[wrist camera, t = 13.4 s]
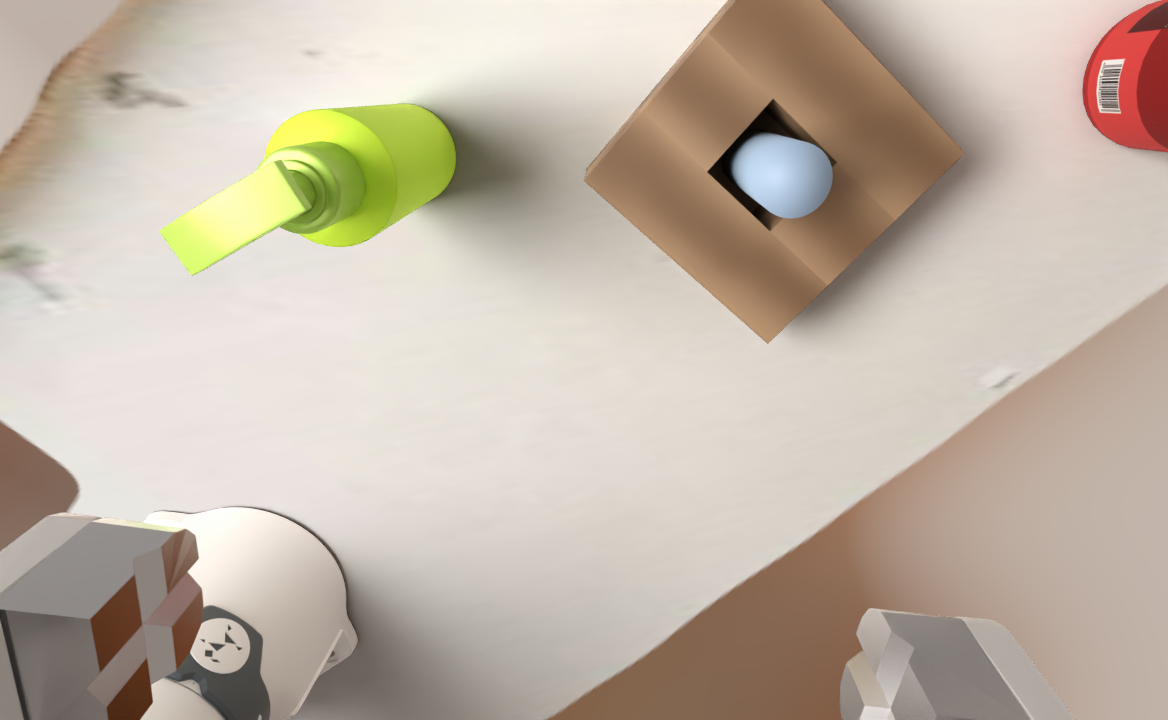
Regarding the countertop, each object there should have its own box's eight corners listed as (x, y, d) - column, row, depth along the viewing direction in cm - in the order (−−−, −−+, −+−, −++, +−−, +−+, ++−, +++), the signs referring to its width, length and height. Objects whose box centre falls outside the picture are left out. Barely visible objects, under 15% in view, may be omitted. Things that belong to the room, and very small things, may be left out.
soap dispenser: (327, 141, 42) (111, 182, 24) (423, 85, 41) (273, 81, 22) (381, 227, 44) (218, 327, 26) (474, 175, 43) (374, 241, 24)
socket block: (747, 312, 46) (767, 343, 40) (586, 168, 43) (584, 180, 37) (916, 144, 42) (964, 153, 36) (751, -28, 38) (776, -49, 33)
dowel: (761, 196, 42) (808, 230, 32) (711, 173, 42) (742, 199, 32) (789, 143, 41) (847, 160, 31) (738, 119, 41) (779, 128, 31)
